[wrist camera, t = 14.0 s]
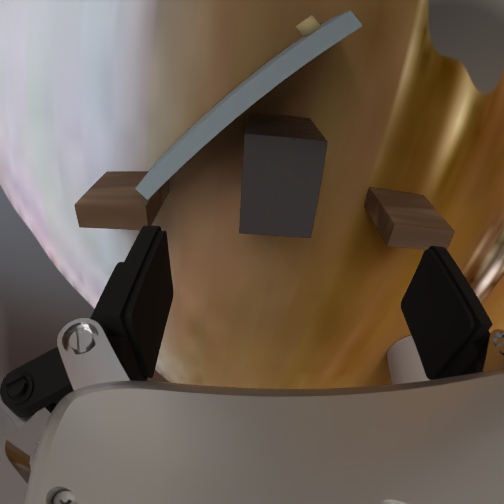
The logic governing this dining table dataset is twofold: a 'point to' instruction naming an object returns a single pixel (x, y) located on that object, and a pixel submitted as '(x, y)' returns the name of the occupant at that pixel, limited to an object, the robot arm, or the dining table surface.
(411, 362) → the coffee cup
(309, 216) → the dark grey block
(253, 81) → the grey curved plank
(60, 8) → the dining table surface
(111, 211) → the pair of brown blocks
